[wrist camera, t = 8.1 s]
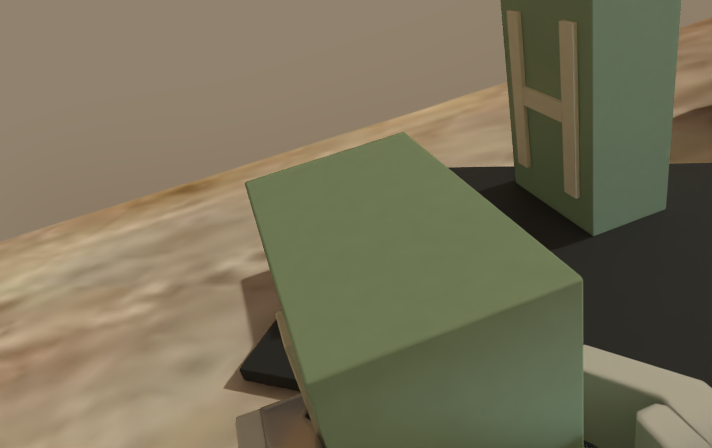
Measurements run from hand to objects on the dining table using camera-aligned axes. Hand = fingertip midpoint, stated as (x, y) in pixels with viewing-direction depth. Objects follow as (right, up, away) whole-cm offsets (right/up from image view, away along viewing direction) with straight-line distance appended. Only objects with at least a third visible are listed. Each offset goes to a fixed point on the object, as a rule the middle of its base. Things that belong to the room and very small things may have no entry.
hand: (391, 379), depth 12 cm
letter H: (+10, +5, +14) cm, 17 cm away
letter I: (+2, -5, +2) cm, 6 cm away
